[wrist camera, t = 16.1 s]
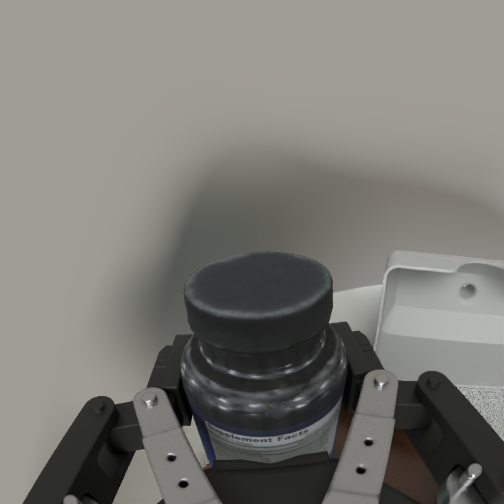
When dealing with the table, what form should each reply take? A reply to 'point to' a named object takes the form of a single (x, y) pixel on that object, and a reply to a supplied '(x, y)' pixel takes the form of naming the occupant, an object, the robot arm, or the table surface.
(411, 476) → the grid
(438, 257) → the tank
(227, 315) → the pill bottle
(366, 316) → the table surface
